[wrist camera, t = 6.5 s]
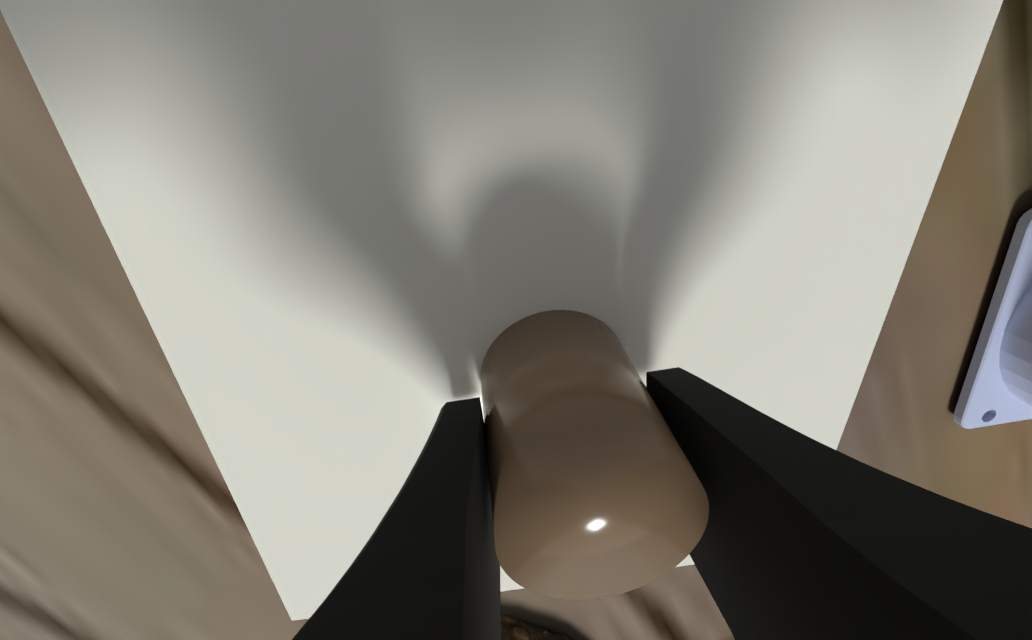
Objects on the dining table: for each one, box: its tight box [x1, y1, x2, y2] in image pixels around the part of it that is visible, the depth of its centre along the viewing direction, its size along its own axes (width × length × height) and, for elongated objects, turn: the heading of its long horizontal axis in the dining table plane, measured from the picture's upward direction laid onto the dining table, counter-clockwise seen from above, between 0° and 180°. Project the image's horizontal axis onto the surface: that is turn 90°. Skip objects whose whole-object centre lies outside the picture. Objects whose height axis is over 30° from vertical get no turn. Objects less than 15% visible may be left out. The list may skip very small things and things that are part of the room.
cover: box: [0, 0, 1003, 621], centre depth 10 cm, size 14×14×7 cm
